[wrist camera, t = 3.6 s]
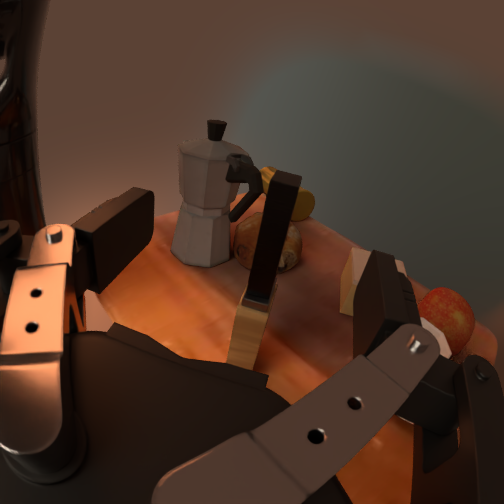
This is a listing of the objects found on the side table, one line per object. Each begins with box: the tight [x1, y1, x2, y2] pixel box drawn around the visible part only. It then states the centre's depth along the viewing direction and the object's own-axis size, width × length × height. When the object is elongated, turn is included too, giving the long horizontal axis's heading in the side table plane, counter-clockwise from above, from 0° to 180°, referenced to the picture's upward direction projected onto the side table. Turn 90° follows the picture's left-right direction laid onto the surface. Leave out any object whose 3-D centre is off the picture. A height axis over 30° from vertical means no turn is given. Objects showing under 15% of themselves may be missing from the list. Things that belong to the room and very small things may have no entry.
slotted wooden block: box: [340, 247, 407, 316], centre depth 41 cm, size 8×8×5 cm
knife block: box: [226, 284, 278, 370], centre depth 28 cm, size 4×2×9 cm, turn 166°
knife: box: [241, 170, 302, 313], centre depth 25 cm, size 4×2×18 cm, turn 166°
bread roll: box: [233, 212, 302, 274], centre depth 46 cm, size 10×10×8 cm
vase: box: [260, 167, 315, 221], centre depth 62 cm, size 6×6×14 cm
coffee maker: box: [171, 120, 264, 268], centre depth 40 cm, size 15×9×18 cm, turn 45°
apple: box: [417, 287, 475, 357], centre depth 34 cm, size 8×8×8 cm
